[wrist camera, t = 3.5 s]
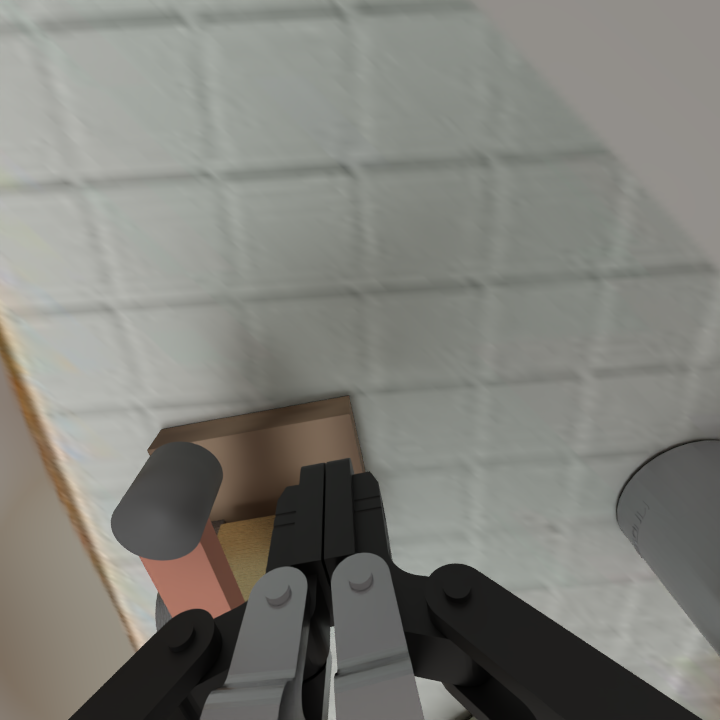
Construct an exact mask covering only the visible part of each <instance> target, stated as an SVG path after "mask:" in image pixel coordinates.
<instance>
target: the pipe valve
mask: <svg viewBox="0 0 720 720" xmlns="http://www.w3.org/2000/svg"><path fill="white" fill-rule="evenodd" d="M274 519H275V515H273V516H267V517H261V518H255V519H250V520H244V521H238V522H232V523H226V522H225V520H224V519H223V520H217V521H211V523H212V525H213V528H214V530H215V533H216V535H217V537H218V540H219V542H220V544H221V547H222V549H223V551H224V554H225V556H226V558H227V561H228V563H229V565H230V568H231V570H232V572H233V575H234V577H235V579H236V582H237V584H238V586H239V589H240V591H241V593H242V596H243V598H244V600H245V602H246V601H247V600H248V599H249V595H250V593H251V590H252V588H253V586H254V585H255V584H256V582H257V581H258V580H259V579H260V578H261V577H262V576H263V575H265V573H266V567H267V561H268V555H269V549H270V543H271V537H272V531H273V529H274V528H273V525H274ZM170 619H172V616H171V614H170V612H169V611H168V609H167V607H166V605H165V603H164V601H163V600H162V598H161V596H160V594H159V592H158V594H157V600H156V627H157V632H158V631H159V630H160V629H161V628H162V627H163V626H164V625H165V624H166V623H167V622H168V621H169V620H170Z"/></svg>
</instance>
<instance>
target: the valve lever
mask: <svg viewBox="0 0 720 720" xmlns="http://www.w3.org/2000/svg"><path fill="white" fill-rule="evenodd" d="M222 480H223V470H222V467H221V464H220V462H219V461H218V459H217V458H216V457H215V456H214V455H213V454H212V453H211V452H210V451H209V450H207V449H205V448H204V447H202V446H200V445H197V444H194V443H190V442H171V443H167V444H165V445H162V446H160V447H159V448H157V449H156V450H155V451H154V452H153V453H152V454H151V456H150V457H149V459H148V460H147V462H146V463H145V465H144V466H143V468H142V469H141V471H140V472H139V474H138V475H137V477H136V479H135V480H134V482H133V483H132V485H131V486H130V488H129V489H128V491H127V492H126V494H125V495H124V497H123V498H122V500H121V501H120V503H119V504H118V506H117V507H116V509H115V510H114V512H113V514H112V518H111V528H112V532H113V534H114V536H115V538H116V539H117V541H118V542H119V543H120V544H121V545H122V546H123V547H124V548H126V549H127V550H128V551H130V552H132V553H133V554H136V555H138V556H139V557H140V559H141V561H142V563H143V564H144V566H145V568H146V570H147V572H148V574H149V576H150V577H151V579H152V581H153V583H154V585H155V587H156V588H157V590H158V592H159V594H160V596H161V598H162V600H163V601H164V603H165V605H166V607H167V609H168V611H169V612H170V614H171V616H172V618H173V617H174V616H176V615H178V614H179V613H181V612H184V611H186V610H190V609H204V610H206V611H208V612H209V613H210V614H211V615H212V617H213V619H214V618H216V617H218V616H220V615H222V614H224V613H226V612H228V611H230V610H232V609H234V608H236V607H238V606H240V605H242V604H243V603H244V602H245V600H244V598H243V596H242V593H241V591H240V589H239V586H238V584H237V582H236V579H235V577H234V575H233V572H232V570H231V568H230V565H229V563H228V561H227V558H226V556H225V554H224V551H223V549H222V547H221V544H220V542H219V540H218V537H217V535H216V533H215V530H214V528H213V525H212V523H211V521H210V518H209V515H210V513H211V510H212V507H213V505H214V502H215V499H216V497H217V494H218V491H219V489H220V486H221V483H222Z"/></svg>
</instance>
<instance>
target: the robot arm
mask: <svg viewBox="0 0 720 720" xmlns="http://www.w3.org/2000/svg"><path fill="white" fill-rule="evenodd" d="M617 518H618V523H619V526H620V528H621V530H622V532H623V533H624V534H625V536H626V537H627V538H628V539H629V541H630V542H631V543H632V545H633V546H634V547H635V549H636V551H637V552H638V554H639V555H640V556H641V558H643V559H644V560H645V561H646V563H647V564H648V565H649V567H650V568H651V569H652V570H653V572H654V573H655V574H656V576H657V577H658V578H659V579H660V581H661V582H662V584H663V585H664V586H665V587H666V589H667V590H668V591H669V593H670V594H671V595H672V596H673V598H674V599H675V600H676V601H677V603H678V604H679V605H680V607H681V608H682V609H683V610H684V612H685V613H686V614H687V616H688V617H689V618H690V619H691V621H692V622H693V623H694V624H695V626H696V627H697V628H698V630H699V631H700V632H701V633H702V635H703V636H704V637H705V638H706V640H707V641H708V642H709V644H710V645H711V646H712V647H713V649H714V650H715V651H716V653H717V654H718V655H719V656H720V441H699V442H693V443H688V444H685V445H682V446H679V447H676V448H673V449H671V450H669V451H667V452H665V453H663V454H661V455H659V456H657V457H656V458H655V459H653V460H652V461H650V462H649V463H647V464H646V465H645V466H644V467H643V468H642V469H640V470H639V471H638V472H637V473H636V474H635V475H634V476H633V478H632V479H631V480H630V482H629V483H628V484H627V486H626V487H625V489H624V491H623V493H622V495H621V497H620V499H619V504H618V508H617ZM273 528H274V529H273V531H272V537H271V543H270V549H269V555H268V561H267V567H266V573H265V575H263V576H262V577H261V578H260V579H259V580H258V581H257V582H256V584H255V585H254V586H253V588H252V590H251V593H250V595H249V599H248V600H247V601H246V602H244V603H243V604H242V605H240V606H238V607H236V608H234V609H232V610H230V611H228V612H226V613H224V614H222V615H220V616H218V617H216V618H214V619H213V617H212V615H211V614H210V613H209V612H208V611H206V610H204V609H190V610H186V611H184V612H181V613H179V614H178V615H176V616H174V617H173V618H172V619H170V620H169V621H168V622H167V623H166V624H165V625H164V626H163V627H162V628H161V629H160V630H159V631H158V632H157V633H156V634H154V635H153V636H152V637H151V638H150V639H149V640H148V641H147V642H146V643H145V644H144V645H143V646H142V647H141V648H140V649H139V650H138V651H137V652H136V653H135V654H134V655H133V656H132V657H131V658H130V659H129V660H128V661H127V662H126V663H125V664H124V665H123V666H122V667H121V668H120V669H119V670H118V671H117V672H116V673H115V674H114V675H113V676H112V677H111V678H110V679H109V680H108V681H107V682H106V683H105V684H104V685H103V686H102V687H101V688H100V689H99V690H98V691H97V692H96V693H95V694H94V695H93V696H92V697H91V698H90V699H89V700H88V701H87V702H86V703H85V704H84V705H83V706H82V707H81V708H80V709H79V710H78V711H77V712H76V713H75V714H74V715H72V716H71V718H69V719H68V720H328V709H329V695H330V681H331V667H332V655H331V651H330V627H332V626H334V628H335V640H336V653H337V667H338V668H337V673H335V676H334V692H335V707H336V720H424V716H423V712H422V707H421V703H420V699H419V694H418V690H417V686H416V681H415V677H414V676H417V677H421V678H426V679H431V680H436V681H440V682H442V684H443V685H444V687H445V688H446V689H447V690H448V692H449V693H450V694H451V695H452V696H453V697H454V698H456V699H457V700H458V701H459V702H460V703H461V704H462V705H463V706H464V707H465V708H466V709H467V710H468V711H469V712H470V713H471V714H472V715H473V716H474V717H475V718H476V719H477V720H702V719H701V718H699V717H698V716H696V715H695V714H693V713H692V712H690V711H689V710H687V709H686V708H684V707H683V706H681V705H680V704H678V703H677V702H675V701H674V700H672V699H671V698H669V697H668V696H666V695H664V694H663V693H661V692H660V691H658V690H657V689H655V688H654V687H652V686H651V685H649V684H648V683H646V682H645V681H643V680H642V679H640V678H639V677H637V676H636V675H634V674H633V673H631V672H630V671H628V670H627V669H625V668H624V667H622V666H621V665H619V664H618V663H616V662H615V661H613V660H612V659H610V658H609V657H607V656H606V655H604V654H603V653H601V652H600V651H598V650H597V649H595V648H594V647H592V646H591V645H589V644H588V643H586V642H585V641H583V640H582V639H580V638H579V637H577V636H576V635H574V634H573V633H571V632H570V631H568V630H566V629H565V628H563V627H562V626H560V625H559V624H557V623H556V622H554V621H553V620H551V619H550V618H548V617H547V616H545V615H544V614H542V613H541V612H539V611H538V610H536V609H535V608H533V607H532V606H530V605H529V604H527V603H526V602H524V601H523V600H521V599H520V598H518V597H517V596H515V595H514V594H512V593H511V592H509V591H508V590H506V589H505V588H503V587H502V586H500V585H499V584H497V583H496V582H494V581H493V580H491V579H490V578H488V577H487V576H485V575H484V574H482V573H481V572H479V571H478V570H476V569H474V568H472V567H470V566H467V565H464V564H448V565H444V566H442V567H440V568H438V569H436V570H435V571H434V572H433V573H432V574H431V575H430V576H429V577H427V576H420V575H414V574H410V573H407V572H405V571H403V570H401V569H400V568H398V567H397V566H396V565H395V564H394V563H393V561H392V556H391V550H390V543H389V537H388V530H387V523H386V517H385V513H384V508H383V503H382V498H381V493H380V489H379V484H378V481H377V480H376V479H375V477H374V476H373V475H372V474H371V473H370V471H369V472H364V473H358V474H354V470H353V466H352V462H351V459H350V458H345V459H340V460H334V461H329V462H326V463H325V462H324V463H319V464H313V465H308V466H302V467H301V470H300V479H299V485H294V486H288V487H286V488H285V490H284V491H283V493H282V494H281V496H280V497H279V499H278V501H277V507H276V513H275V519H274V525H273Z"/></svg>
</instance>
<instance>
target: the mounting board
mask: <svg viewBox="0 0 720 720" xmlns="http://www.w3.org/2000/svg"><path fill="white" fill-rule="evenodd" d="M171 442H190V443H194V444H197V445H200V446H202V447H204V448H205V449H207V450H209V451H210V452H211V453H212V454H213V455H214V456H215V457H216V458H217V459H218V461H219V462H220V464H221V467H222V470H223V480H222V483H221V486H220V489H219V491H218V494H217V497H216V499H215V502H214V505H213V507H212V510H211V513H210V515H209V518H210V521H217V520H223V519H224V520H225V522H226V523H232V522H238V521H244V520H250V519H255V518H261V517H267V516H273V515H275V513H276V507H277V501H278V499H279V497H280V496H281V494H282V493H283V491H284V490H285V488H286V487H288V486H294V485H299V479H300V470H301V467H302V466H308V465H313V464H319V463H324V462H325V463H326V462H329V461H334V460H340V459H345V458H350V459H351V462H352V466H353V470H354V474H358V473H364V472H365V467H364V463H363V458H362V454H361V449H360V444H359V440H358V435H357V430H356V426H355V421H354V417H353V412H352V407H351V403H350V398H349V396H344V397H339V398H333V399H328V400H322V401H316V402H311V403H305V404H300V405H294V406H289V407H283V408H278V409H272V410H267V411H261V412H256V413H250V414H244V415H239V416H233V417H228V418H222V419H217V420H211V421H206V422H200V423H195V424H189V425H183V426H178V427H172V428H167V429H161V431H160V432H159V434H158V435H157V437H156V438H155V440H154V441H153V443H152V444H151V445H150V447H149V448H148V450H147V451H148V453H149V455H150V456H151V454H152V453H153V452H154V451H155V450H156V449H157V448H159V447H160V446H162V445H165V444H167V443H171Z"/></svg>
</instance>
